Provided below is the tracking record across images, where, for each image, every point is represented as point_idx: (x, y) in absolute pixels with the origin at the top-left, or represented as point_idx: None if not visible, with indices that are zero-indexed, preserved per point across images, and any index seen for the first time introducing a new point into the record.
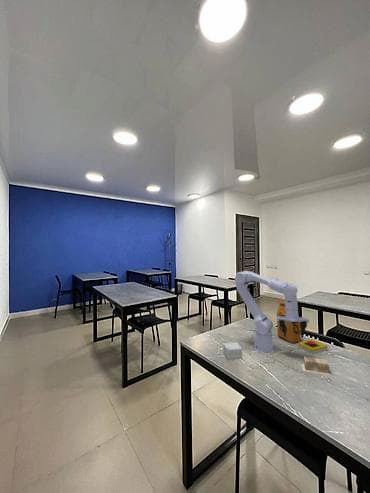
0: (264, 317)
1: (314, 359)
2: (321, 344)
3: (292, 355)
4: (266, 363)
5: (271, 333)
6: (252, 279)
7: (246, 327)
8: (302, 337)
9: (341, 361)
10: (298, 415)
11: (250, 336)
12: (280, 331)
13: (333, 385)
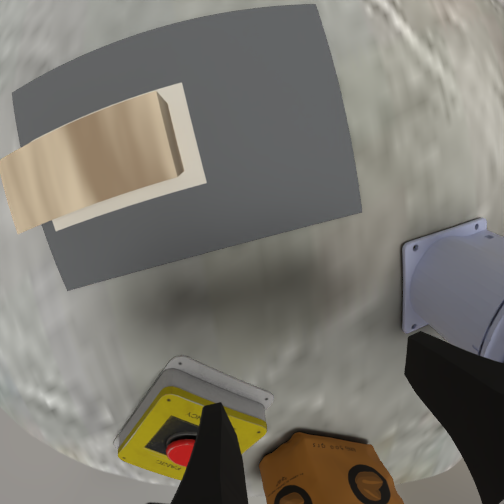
0: None
1: (85, 173)
2: (144, 459)
3: (285, 293)
4: (415, 88)
5: (490, 339)
6: None
7: None
8: (212, 404)
9: (34, 360)
10: None
11: None
12: (373, 463)
13: (25, 53)
